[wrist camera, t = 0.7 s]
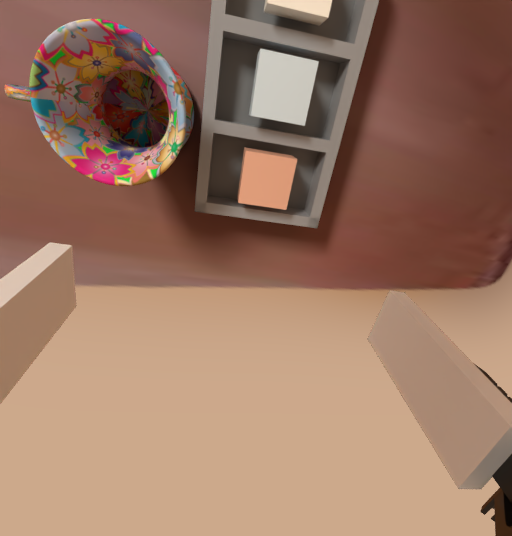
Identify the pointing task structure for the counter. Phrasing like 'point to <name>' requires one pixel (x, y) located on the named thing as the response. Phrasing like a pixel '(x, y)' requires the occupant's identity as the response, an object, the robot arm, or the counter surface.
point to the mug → (108, 102)
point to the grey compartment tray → (271, 131)
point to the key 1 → (266, 178)
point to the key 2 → (300, 10)
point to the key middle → (282, 87)
